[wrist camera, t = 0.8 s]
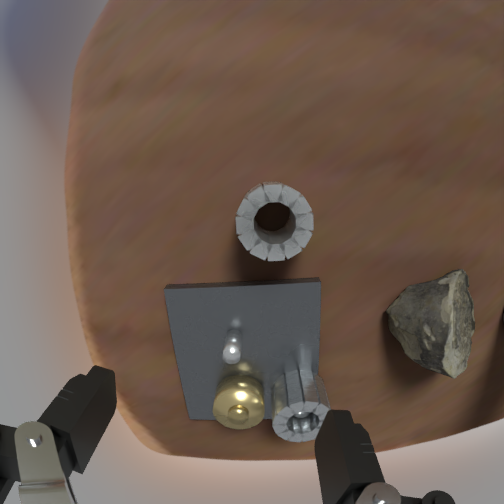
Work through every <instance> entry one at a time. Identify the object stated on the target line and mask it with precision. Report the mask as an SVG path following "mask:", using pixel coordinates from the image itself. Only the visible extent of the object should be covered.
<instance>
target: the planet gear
mask: <svg viewBox="0 0 504 504" xmlns="http://www.w3.org/2000/svg"><path fill="white" fill-rule="evenodd" d="M272 202H280V203H282V204H284V205H286V206H288V207H289V217H290V218H289V219H288V221H287V223H286V225H285V226H284V227H282V228H281V229H279V230H278V231H267V230H265V229H263V228H261V227H260V226H259V225H258V223H257V222H256V220H255V215H256V213H257V211H258V209H259V208H261V207H262V206H264V205H265V204H267V203H272ZM311 210H312V209H311V207H310V206H309V204H308V203H307V201H306V199H305V198H304V196H303V195H302V194H300V193H299V192H298V191H296V190H294V189H293V188H291V187H289V186H287V185H285V184H283V183H281V182H280V183H279V182H263V186H262V185H261V183H260V184H258V185H257V186H255V187H254V188H252V189H251V190H249V191H248V193H246V195H245V197H244V199H243V201H242V203H241V205H240V207H239V209H238V211H237V213H236V214H237V215H236V231H237V234H238V238H239V240H240V241H241V243H242V244H243V246H244V247H245V248H246V250H247V251H248V250H250V254H252V255H254V256H256V257H259V258H261V259H263V260H266V258H267V256H268V261H282V260H285V256H286V257H287V259H289V258H291V257H293V256H294V255H296V254H297V253H299V252H301V251H302V249H301V247H303V248H305V246H306V245H307V243H308V241H309V239H310V237H311V235H312V234H313V233H312V232H311V231H310V230H313V213H312V212H311ZM300 246H301V247H300Z"/></svg>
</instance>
